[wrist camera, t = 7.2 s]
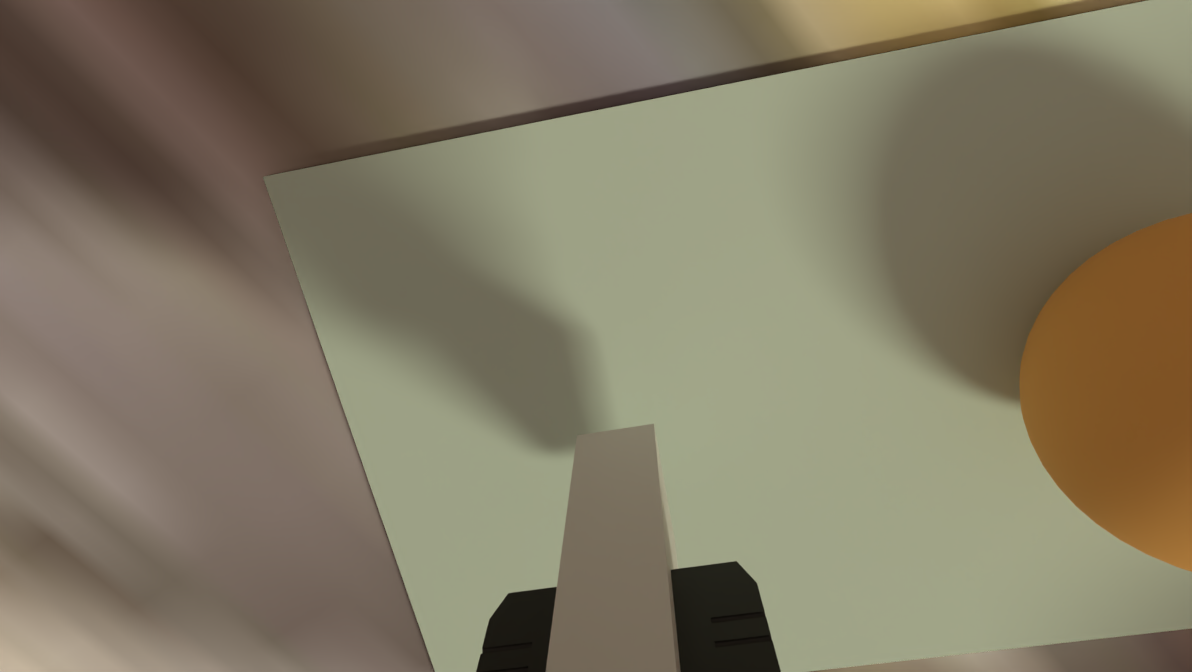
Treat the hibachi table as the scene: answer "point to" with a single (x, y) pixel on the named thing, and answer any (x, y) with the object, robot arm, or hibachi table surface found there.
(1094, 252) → the pale green board
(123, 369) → the hibachi table surface
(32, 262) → the hibachi table surface
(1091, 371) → the ball
